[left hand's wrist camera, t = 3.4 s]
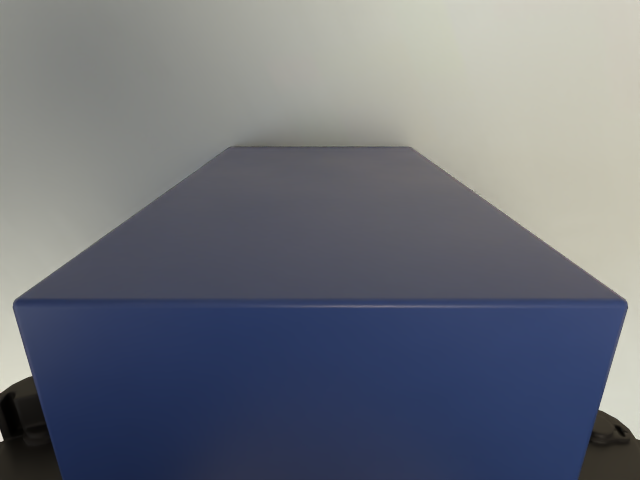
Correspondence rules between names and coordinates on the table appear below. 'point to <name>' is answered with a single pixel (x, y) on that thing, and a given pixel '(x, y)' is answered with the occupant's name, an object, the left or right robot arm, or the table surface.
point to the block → (320, 331)
